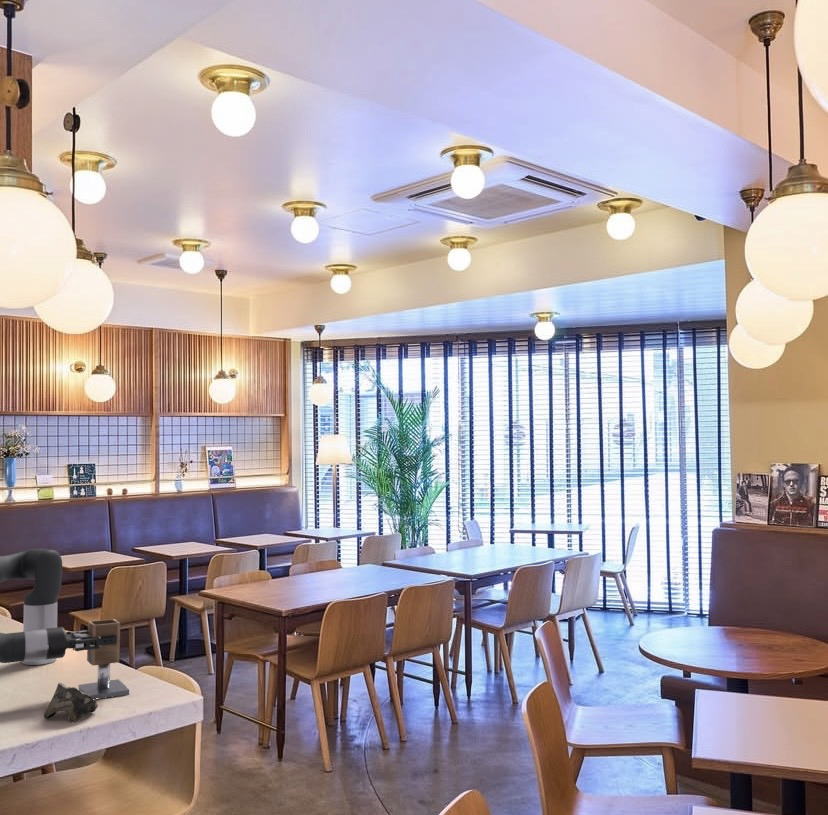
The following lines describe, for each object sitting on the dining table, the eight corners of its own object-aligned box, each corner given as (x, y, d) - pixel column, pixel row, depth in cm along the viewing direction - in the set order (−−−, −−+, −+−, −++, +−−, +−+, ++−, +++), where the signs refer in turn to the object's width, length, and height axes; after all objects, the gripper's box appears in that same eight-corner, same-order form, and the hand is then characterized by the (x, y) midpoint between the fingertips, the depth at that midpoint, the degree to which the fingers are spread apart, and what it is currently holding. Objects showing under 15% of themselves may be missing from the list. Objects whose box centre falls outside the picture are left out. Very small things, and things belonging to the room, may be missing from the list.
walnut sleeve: (87, 660, 213) (88, 621, 213) (113, 657, 216) (114, 618, 217) (92, 665, 207) (93, 625, 208) (119, 662, 210) (120, 622, 211)
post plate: (78, 689, 214) (79, 657, 214) (118, 683, 219) (118, 652, 220) (87, 700, 204) (88, 667, 204) (129, 694, 209) (129, 661, 210)
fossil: (107, 707, 196) (98, 675, 192) (88, 737, 188) (78, 704, 184) (65, 704, 198) (56, 672, 194) (44, 733, 190) (34, 700, 186)
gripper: (39, 653, 210) (106, 646, 219) (47, 665, 198) (119, 656, 207) (39, 624, 211) (107, 617, 219) (48, 633, 198) (119, 626, 207)
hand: (112, 636), depth 213 cm, fingers closed on walnut sleeve, 6 cm apart
